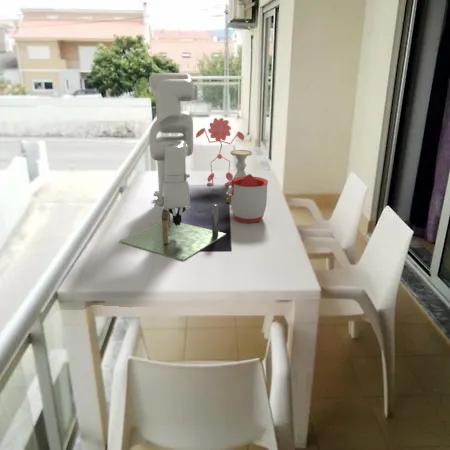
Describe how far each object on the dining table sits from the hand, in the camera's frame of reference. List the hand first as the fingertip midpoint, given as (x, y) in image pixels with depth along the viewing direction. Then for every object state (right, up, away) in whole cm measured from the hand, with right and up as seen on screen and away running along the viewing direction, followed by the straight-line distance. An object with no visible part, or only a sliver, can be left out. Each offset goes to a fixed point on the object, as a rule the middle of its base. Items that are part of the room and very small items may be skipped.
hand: (177, 224), depth 168 cm
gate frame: (-1, -5, 0) cm, 6 cm away
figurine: (+15, +24, +77) cm, 82 cm away
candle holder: (+26, +11, +45) cm, 53 cm away
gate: (-4, -4, +2) cm, 6 cm away
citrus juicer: (+28, +2, +21) cm, 35 cm away
